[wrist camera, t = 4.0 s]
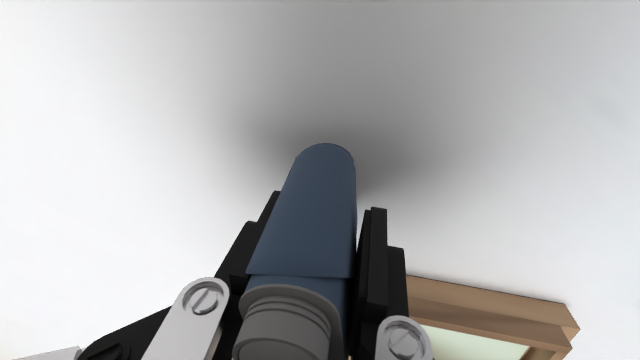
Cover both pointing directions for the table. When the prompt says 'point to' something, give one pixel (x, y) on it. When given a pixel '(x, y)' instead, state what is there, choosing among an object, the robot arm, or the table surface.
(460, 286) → the holder
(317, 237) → the vaping device
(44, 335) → the table surface
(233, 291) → the robot arm
